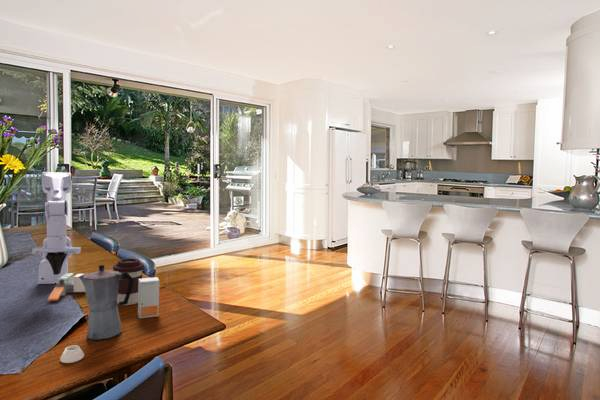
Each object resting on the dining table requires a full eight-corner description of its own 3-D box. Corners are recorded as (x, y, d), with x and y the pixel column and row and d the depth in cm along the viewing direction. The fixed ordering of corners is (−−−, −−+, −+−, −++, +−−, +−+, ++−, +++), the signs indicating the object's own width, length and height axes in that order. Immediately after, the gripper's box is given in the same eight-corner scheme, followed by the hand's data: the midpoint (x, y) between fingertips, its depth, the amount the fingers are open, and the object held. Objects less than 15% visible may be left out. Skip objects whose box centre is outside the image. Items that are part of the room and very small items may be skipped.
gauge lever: (48, 301, 132) (47, 298, 131) (57, 287, 138) (56, 284, 138) (57, 301, 132) (57, 297, 132) (66, 287, 139) (65, 283, 138)
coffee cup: (146, 297, 141) (146, 257, 140) (139, 307, 131) (140, 263, 130) (117, 297, 139) (117, 257, 138) (108, 307, 129) (109, 263, 128)
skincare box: (138, 319, 121) (139, 282, 120) (137, 314, 125) (138, 278, 124) (159, 316, 124) (159, 280, 123) (157, 312, 128) (157, 276, 127)
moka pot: (86, 326, 114) (86, 260, 112) (139, 327, 115) (140, 261, 114) (69, 341, 104) (69, 268, 103) (128, 341, 106) (128, 270, 104)
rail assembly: (57, 295, 139) (57, 279, 138) (66, 288, 147) (66, 273, 146) (112, 294, 142) (112, 278, 142) (118, 287, 150) (118, 272, 150)
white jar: (79, 352, 99) (57, 359, 95) (79, 341, 98) (57, 347, 95) (87, 359, 95) (64, 366, 92) (86, 348, 95) (64, 354, 91)
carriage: (73, 291, 142) (73, 276, 141) (77, 288, 146) (77, 273, 145) (85, 291, 142) (85, 276, 142) (89, 288, 146) (89, 273, 146)
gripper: (27, 237, 127) (27, 277, 128) (75, 237, 130) (75, 276, 131) (37, 233, 134) (38, 271, 135) (82, 233, 137) (82, 271, 138)
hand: (57, 273), depth 133 cm, fingers closed
